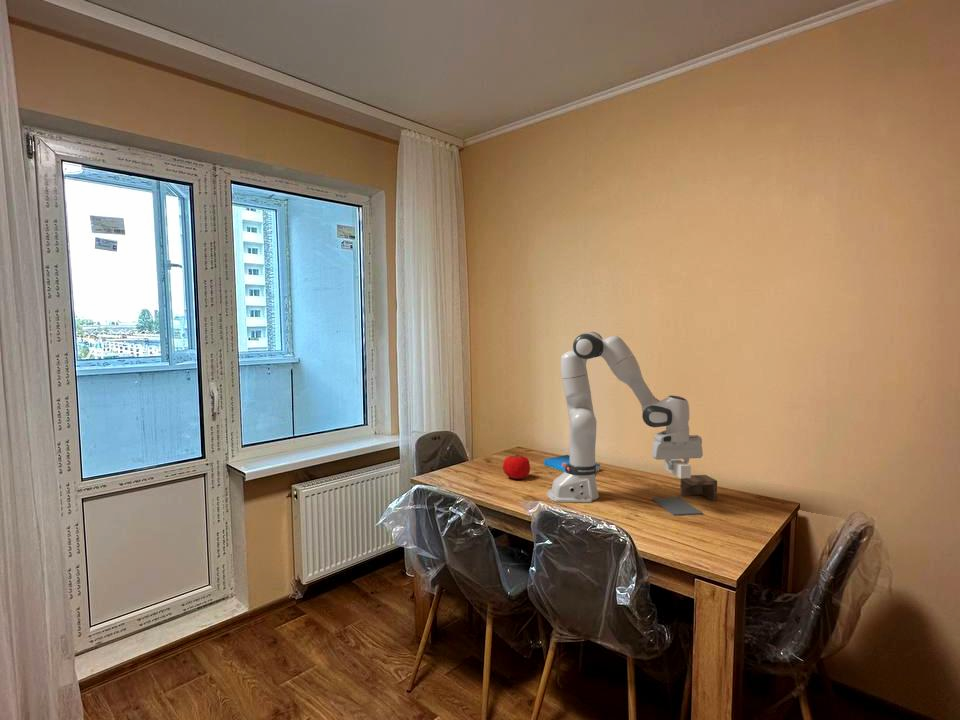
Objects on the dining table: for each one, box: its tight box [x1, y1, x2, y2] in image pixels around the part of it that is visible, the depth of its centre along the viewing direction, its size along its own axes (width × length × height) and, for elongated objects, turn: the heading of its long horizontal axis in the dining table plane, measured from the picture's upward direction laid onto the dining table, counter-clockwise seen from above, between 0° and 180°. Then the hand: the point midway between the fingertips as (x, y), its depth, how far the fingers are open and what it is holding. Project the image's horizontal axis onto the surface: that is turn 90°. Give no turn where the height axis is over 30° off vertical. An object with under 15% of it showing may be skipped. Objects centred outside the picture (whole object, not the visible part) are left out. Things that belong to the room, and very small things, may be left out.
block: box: [663, 459, 692, 479], centre depth 203 cm, size 4×14×5 cm, turn 6°
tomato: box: [502, 454, 531, 480], centre depth 245 cm, size 12×13×12 cm
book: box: [543, 454, 601, 473], centre depth 263 cm, size 17×4×25 cm
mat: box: [651, 496, 704, 516], centre depth 203 cm, size 12×19×1 cm, turn 6°
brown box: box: [679, 474, 718, 501], centre depth 214 cm, size 12×9×8 cm
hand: (677, 469), depth 203 cm, fingers closed on block, 4 cm apart
